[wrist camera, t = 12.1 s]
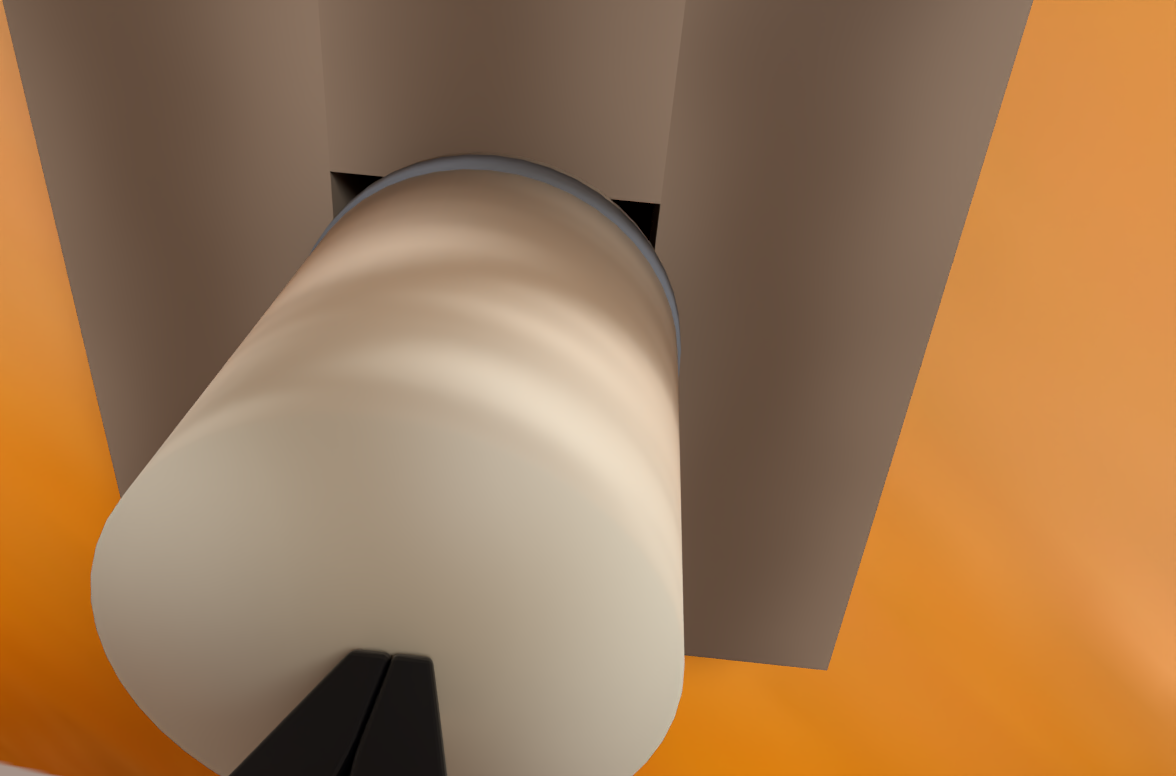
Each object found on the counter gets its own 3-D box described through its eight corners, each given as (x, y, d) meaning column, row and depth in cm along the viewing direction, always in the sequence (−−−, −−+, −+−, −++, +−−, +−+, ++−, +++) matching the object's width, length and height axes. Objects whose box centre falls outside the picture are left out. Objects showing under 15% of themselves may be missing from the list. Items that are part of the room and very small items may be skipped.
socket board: (994, -123, 14) (1066, -105, 12) (808, 568, 22) (827, 670, 19) (78, -207, 15) (-47, -207, 12) (204, 504, 22) (144, 597, 19)
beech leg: (699, 115, 16) (734, 448, 8) (658, 410, 19) (653, 865, 11) (347, 81, 16) (18, 375, 8) (364, 380, 20) (143, 810, 11)
